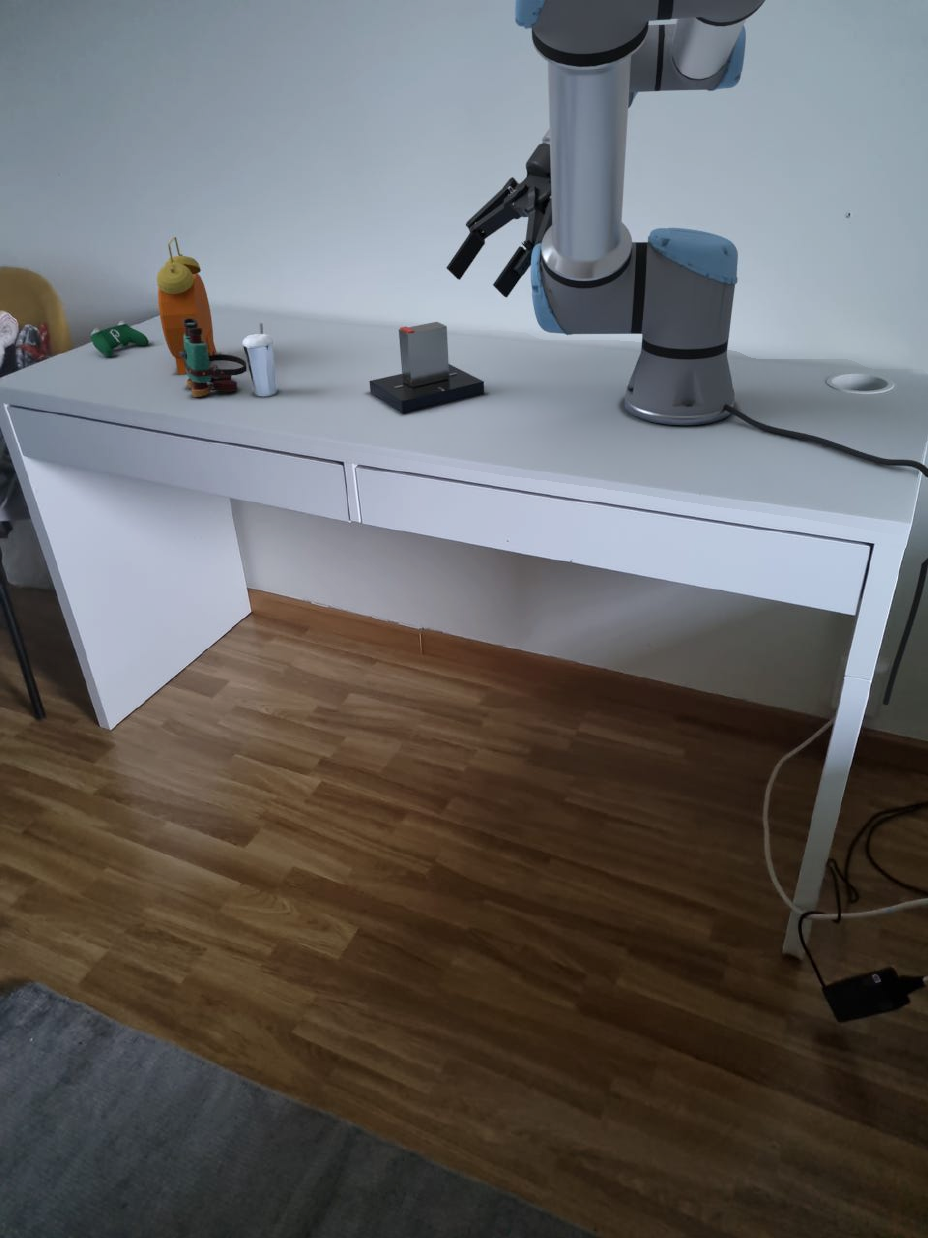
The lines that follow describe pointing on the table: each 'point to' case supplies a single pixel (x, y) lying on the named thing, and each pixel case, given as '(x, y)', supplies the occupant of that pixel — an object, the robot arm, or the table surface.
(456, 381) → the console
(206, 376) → the binoculars
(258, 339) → the milkshake
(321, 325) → the table surface
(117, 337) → the gaming controller
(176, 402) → the table surface
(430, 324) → the red-capped silver block
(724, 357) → the robot arm
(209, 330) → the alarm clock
